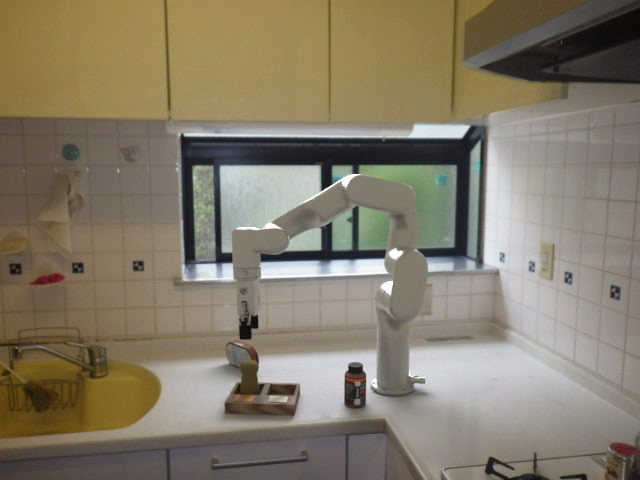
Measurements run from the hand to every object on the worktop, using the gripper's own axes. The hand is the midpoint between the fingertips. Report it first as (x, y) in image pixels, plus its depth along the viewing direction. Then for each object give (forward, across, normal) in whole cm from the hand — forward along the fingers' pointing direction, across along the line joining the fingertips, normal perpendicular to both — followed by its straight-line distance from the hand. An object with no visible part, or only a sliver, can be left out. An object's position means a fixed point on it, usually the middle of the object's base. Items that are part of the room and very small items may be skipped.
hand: (249, 333), depth 143 cm
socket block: (+19, -2, -4) cm, 19 cm away
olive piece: (+19, 0, 0) cm, 19 cm away
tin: (+19, +24, +8) cm, 31 cm away
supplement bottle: (+20, -1, -29) cm, 35 cm away
